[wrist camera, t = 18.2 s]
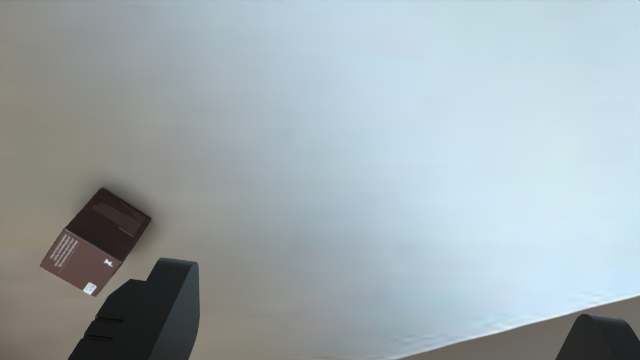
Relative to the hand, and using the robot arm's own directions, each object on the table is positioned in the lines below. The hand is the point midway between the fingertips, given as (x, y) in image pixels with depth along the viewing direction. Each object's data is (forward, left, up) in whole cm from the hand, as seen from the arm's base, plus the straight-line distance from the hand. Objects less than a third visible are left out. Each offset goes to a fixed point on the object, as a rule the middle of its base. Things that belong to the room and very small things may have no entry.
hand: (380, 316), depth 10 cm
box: (-23, -24, -33) cm, 47 cm away
